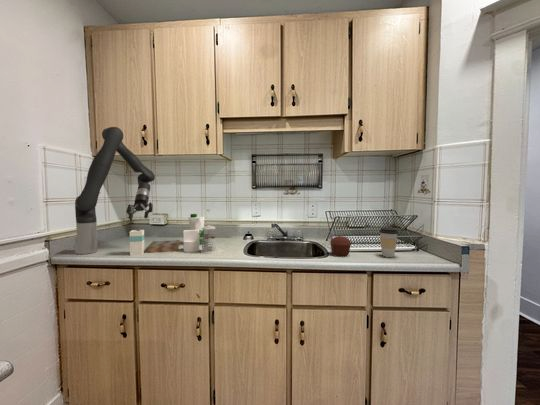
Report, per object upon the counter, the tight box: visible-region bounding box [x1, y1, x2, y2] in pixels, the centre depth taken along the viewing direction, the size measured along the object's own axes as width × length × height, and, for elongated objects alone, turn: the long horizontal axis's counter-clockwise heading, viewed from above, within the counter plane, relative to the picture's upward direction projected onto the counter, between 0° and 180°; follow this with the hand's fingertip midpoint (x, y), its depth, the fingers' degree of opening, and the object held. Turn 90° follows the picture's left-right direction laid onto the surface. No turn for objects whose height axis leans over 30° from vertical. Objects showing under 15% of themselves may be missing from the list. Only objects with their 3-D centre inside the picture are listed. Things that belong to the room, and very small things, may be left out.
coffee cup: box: [378, 227, 399, 258], centre depth 131 cm, size 9×9×15 cm
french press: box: [198, 208, 218, 255], centre depth 140 cm, size 10×12×25 cm
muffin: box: [329, 235, 353, 257], centre depth 134 cm, size 12×11×10 cm
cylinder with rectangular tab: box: [182, 229, 200, 253], centre depth 143 cm, size 9×9×12 cm
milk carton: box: [188, 213, 205, 246], centre depth 160 cm, size 9×9×20 cm
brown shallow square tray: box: [146, 239, 180, 254], centre depth 146 cm, size 16×16×4 cm
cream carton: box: [129, 228, 146, 256], centre depth 135 cm, size 6×6×14 cm
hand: (137, 218), depth 143 cm, fingers open, 8 cm apart
